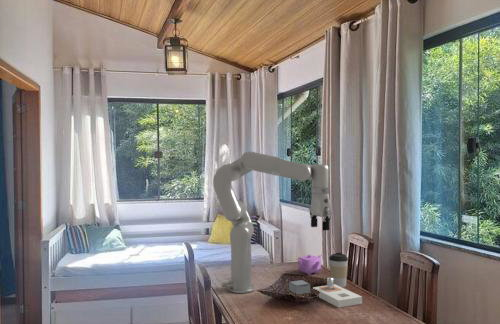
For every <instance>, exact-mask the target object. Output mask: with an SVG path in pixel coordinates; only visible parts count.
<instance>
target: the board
mask: <svg viewBox="0 0 500 324" xmlns="http://www.w3.org/2000/svg"><path fill="white" fill-rule="evenodd" d="M313 289H315V290H317V291H319V292H320V294H319V297H318V298H320V299H321V300H324V301H325V302H327V303H328V304H331V305H333V306H334V307H336V308H338V309H340V308H345V307H350V306H356V305H362V304H363V296H361V295H359V294H357V293H355V292H353V291H350V290H348V289H346V288H344V287H340V286H338V285H335V284H333V290H327V285H321V286H315V287H314V286H313V287H312V290H313Z"/></svg>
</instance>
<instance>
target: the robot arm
mask: <svg viewBox="0 0 500 324" xmlns="http://www.w3.org/2000/svg"><path fill="white" fill-rule="evenodd" d="M252 171H253V172H259V173H264V174H268V175H272V176H278V177H281V178H282V177H283V178H285V179H286V178H287V179H291V180H296V181H302V182H304V181H307V180H311V201H310V207H308V211H309V215H310V216H309V217H310V227H311V228H318V217H321V219H322V228H321V229H322V231H329V230H330V221H331V218H332V214H333V213H332V211H331V201H330V195H329V166H328V165H327V164H322V163H321V164H318V163H317V164H307V163H299V162H294V161H290V160H285V159H282V158H280V157H277V156H274V155H270V154H269V155H268V154H264V153H259V152H255V151H250V150H249V151H245V152H243V154H242V155H241V156H240V157H239V158H237V159H236V160H234V161H233V162H231V163H225V164H223V165H221V166H220V167H219V168H218V169H217V171H216V172H215V173H214V175H213V181H212V185H213V189H214V192H215V194H216V198H217V199H218V204H219V205H220V208H221V210H222V214H223V216H224V218H225V219H226V221H228V222H231V224H232V228H231V229H230V232H229V233H230V234H229V241H230V257H231V258H230V262H231V263H230V266H231V267H230V268H231V271H230V273H231V279H229V280H228V281H227V282H222V283H221V287H222V288H225V287H226V288H228V289H227V290H228V291H229V292H231V293H235V294H247V293H251V292H253V291H256V290H255V289H256V287H255V285H253V284H252V241H251V238H252V236H253V235H254V233H255V231H254V230H255V228H254V225H253V222H252V219H251V216H250V213H249V212H248V209H247V206H246V205H245V204H244V202H243V201H241V200H239V199H238V198H237V195H236V193H235V190H234V188H233V185H232V182H233V181H234V182H235V181H236V180H239V179H240V178H242V177H244V176H246V174H249V173H250V172H252Z"/></svg>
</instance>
